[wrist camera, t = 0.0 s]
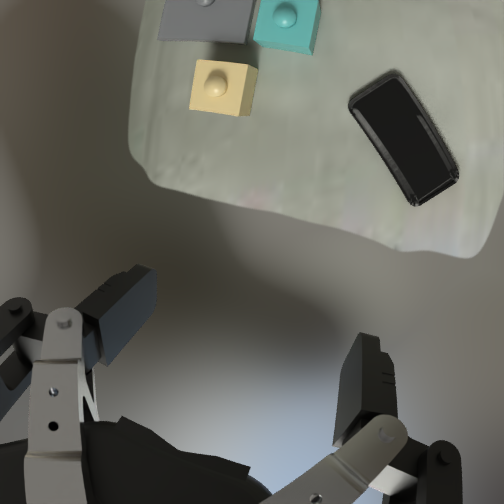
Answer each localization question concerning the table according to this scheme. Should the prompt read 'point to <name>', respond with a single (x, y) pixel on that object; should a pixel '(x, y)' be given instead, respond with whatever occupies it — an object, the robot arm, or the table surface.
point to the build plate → (207, 21)
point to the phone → (405, 139)
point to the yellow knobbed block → (223, 87)
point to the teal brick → (288, 25)
